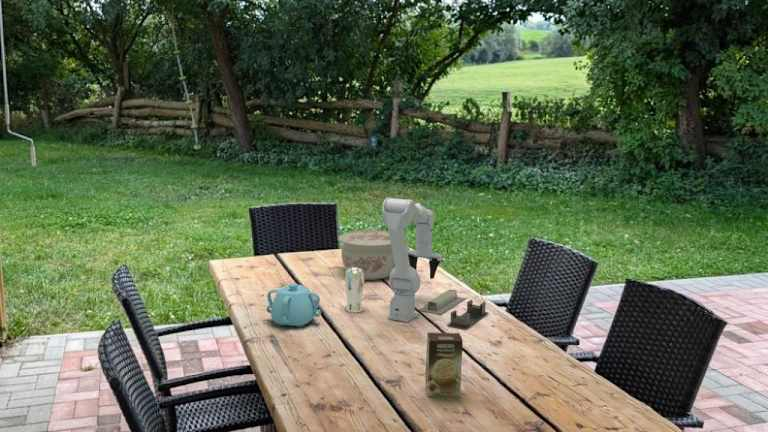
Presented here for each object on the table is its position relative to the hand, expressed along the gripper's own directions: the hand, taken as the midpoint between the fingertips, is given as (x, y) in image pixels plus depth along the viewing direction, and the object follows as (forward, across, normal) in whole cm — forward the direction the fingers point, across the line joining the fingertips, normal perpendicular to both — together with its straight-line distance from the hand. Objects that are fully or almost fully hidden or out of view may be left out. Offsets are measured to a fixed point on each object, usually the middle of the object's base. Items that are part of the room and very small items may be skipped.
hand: (423, 276), depth 283 cm
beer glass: (+10, +17, +21) cm, 29 cm away
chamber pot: (+10, +36, -21) cm, 43 cm away
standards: (+10, -23, +9) cm, 26 cm away
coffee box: (+10, -42, +67) cm, 80 cm away
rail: (+10, -8, -2) cm, 12 cm away
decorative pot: (+10, +28, +43) cm, 52 cm away
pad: (+10, -8, -2) cm, 13 cm away
